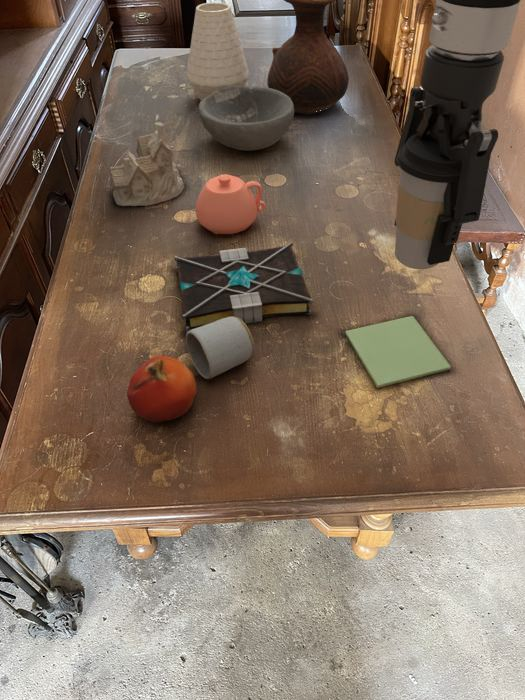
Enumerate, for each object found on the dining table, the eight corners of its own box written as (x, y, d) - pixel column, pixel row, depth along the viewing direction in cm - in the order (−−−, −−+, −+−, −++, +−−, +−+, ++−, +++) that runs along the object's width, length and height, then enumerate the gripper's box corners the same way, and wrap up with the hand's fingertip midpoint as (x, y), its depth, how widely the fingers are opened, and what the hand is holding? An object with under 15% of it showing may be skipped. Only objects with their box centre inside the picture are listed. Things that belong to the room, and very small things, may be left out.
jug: (339, 89, 159) (349, -34, 137) (351, 120, 144) (365, -13, 122) (265, 92, 158) (264, -32, 137) (269, 123, 143) (269, -10, 122)
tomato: (201, 382, 80) (196, 344, 74) (195, 433, 74) (188, 395, 68) (139, 381, 80) (129, 343, 75) (127, 432, 74) (115, 395, 68)
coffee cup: (430, 287, 67) (460, 174, 56) (366, 257, 71) (383, 147, 60) (467, 253, 71) (501, 143, 61) (405, 227, 76) (427, 120, 65)
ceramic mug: (258, 365, 82) (257, 328, 77) (212, 389, 79) (207, 352, 73) (221, 327, 88) (217, 290, 83) (177, 348, 85) (170, 311, 80)
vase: (192, 114, 148) (182, 18, 131) (186, 91, 159) (176, 0, 143) (255, 108, 150) (253, 13, 133) (244, 85, 162) (240, -4, 145)
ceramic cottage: (178, 164, 127) (166, 100, 116) (187, 202, 116) (174, 136, 105) (112, 176, 126) (93, 112, 114) (115, 216, 115) (94, 150, 104)
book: (291, 257, 101) (292, 234, 98) (314, 316, 90) (315, 293, 86) (176, 271, 99) (172, 248, 95) (183, 334, 87) (179, 311, 84)
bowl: (192, 162, 128) (188, 119, 121) (210, 122, 144) (207, 82, 137) (289, 166, 126) (290, 123, 119) (296, 125, 142) (297, 85, 135)
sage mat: (450, 369, 81) (451, 366, 81) (377, 388, 79) (377, 385, 78) (412, 318, 89) (412, 315, 89) (344, 333, 87) (345, 331, 86)
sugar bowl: (193, 211, 113) (188, 165, 106) (259, 203, 115) (258, 157, 108) (201, 244, 105) (196, 196, 97) (271, 235, 107) (271, 187, 99)
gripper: (384, 22, 60) (360, 206, 76) (494, 90, 46) (435, 297, 62) (444, 15, 61) (408, 197, 77) (569, 80, 47) (493, 284, 63)
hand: (420, 241), depth 70 cm, fingers closed on coffee cup, 8 cm apart
